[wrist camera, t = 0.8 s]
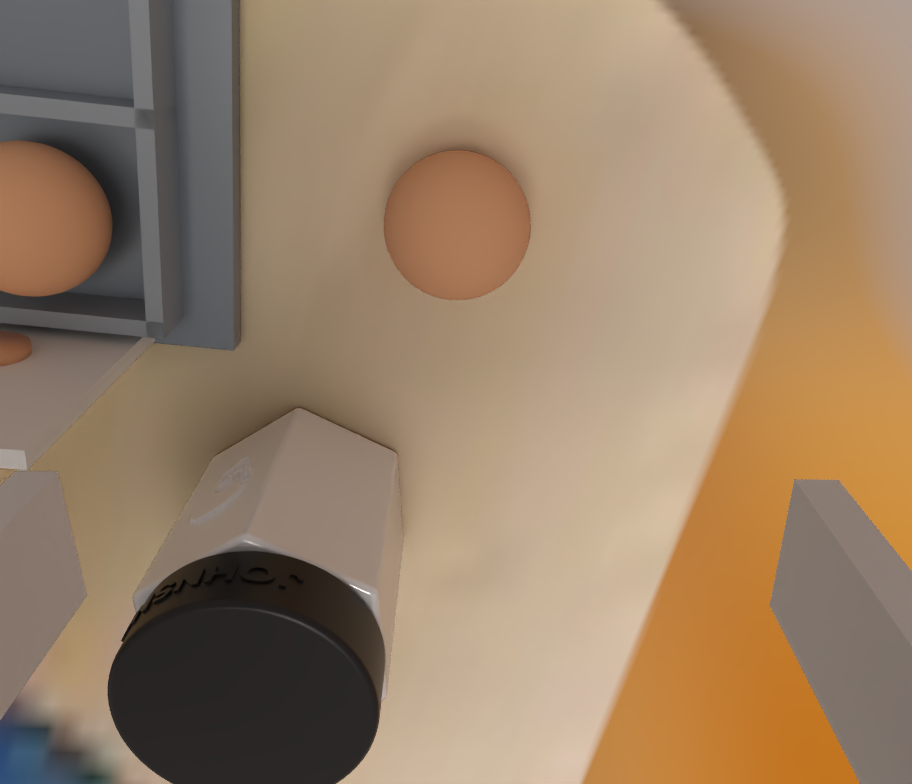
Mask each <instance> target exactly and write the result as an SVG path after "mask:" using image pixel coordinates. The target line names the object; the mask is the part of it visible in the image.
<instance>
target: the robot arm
mask: <svg viewBox="0 0 912 784" xmlns="http://www.w3.org/2000/svg"><path fill="white" fill-rule="evenodd" d="M86 596H87V593H86V589H85V585H84V581H83V576H82V572H81V568H80V564H79V559H78V555H77V551H76V547H75V543H74V538H73V534H72V530H71V526H70V521H69V517H68V513H67V509H66V504H65V500H64V496H63V492H62V488H61V483H60V479H59V475H58V472H52V471H15V472H14V473H13V474H12V475H11V476H10V477H9V478H8V479H7V480H6V481H5V482H4V483H3V484H2V485H1V486H0V720H1V718H2V717H3V716H4V714H5V713H6V711H7V710H8V708H9V707H10V706H11V704H12V703H13V701H14V700H15V698H16V697H17V695H18V694H19V693H20V691H21V690H22V688H23V687H24V685H25V684H26V682H27V681H28V680H29V678H30V677H31V675H32V674H33V672H34V671H35V670H36V668H37V667H38V665H39V664H40V662H41V661H42V659H43V658H44V657H45V655H46V654H47V652H48V651H49V649H50V648H51V647H52V645H53V644H54V642H55V641H56V639H57V638H58V636H59V635H60V634H61V632H62V631H63V629H64V628H65V626H66V625H67V623H68V622H69V621H70V619H71V618H72V616H73V615H74V613H75V612H76V611H77V609H78V608H79V606H80V605H81V603H82V602H83V600H84V599H85V598H86ZM770 607H771V609H772V611H773V613H774V615H775V617H776V619H777V621H778V623H779V625H780V627H781V629H782V630H783V633H784V634H785V636H786V638H787V640H788V642H789V644H790V646H791V648H792V650H793V652H794V654H795V656H796V658H797V660H798V662H799V664H800V666H801V668H802V670H803V672H804V674H805V676H806V678H807V680H808V682H809V684H810V686H811V688H812V690H813V692H814V694H815V696H816V698H817V700H818V702H819V703H820V706H821V708H822V709H823V711H824V713H825V715H826V717H827V719H828V721H829V723H830V725H831V727H832V729H833V731H834V733H835V735H836V737H837V739H838V741H839V743H840V745H841V747H842V749H843V751H844V753H845V755H846V757H847V759H848V761H849V763H850V765H851V767H852V768H853V771H854V773H855V774H856V777H857V779H858V780H859V783H860V784H912V571H911V570H910V569H909V567H908V566H907V565H906V564H905V562H904V561H903V560H902V559H901V558H900V556H899V555H898V554H897V552H896V551H895V550H894V549H893V547H892V546H891V545H890V544H889V542H888V541H887V540H886V539H885V537H884V536H883V535H882V534H881V532H880V531H879V530H878V529H877V528H876V526H875V525H874V524H873V523H872V521H871V520H870V519H869V518H868V516H867V515H866V514H865V512H864V511H863V510H862V509H861V507H860V506H859V505H858V504H857V502H856V501H855V500H854V499H853V497H852V496H851V495H850V494H849V493H848V491H847V490H846V489H845V488H844V486H843V485H842V484H841V482H840V481H839V480H794V484H793V490H792V495H791V500H790V505H789V510H788V515H787V520H786V525H785V530H784V536H783V541H782V546H781V551H780V556H779V561H778V566H777V571H776V577H775V581H774V586H773V592H772V597H771V602H770Z"/></svg>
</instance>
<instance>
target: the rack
mask: <svg viewBox="0 0 912 784" xmlns="http://www.w3.org/2000/svg"><path fill="white" fill-rule="evenodd" d="M15 140H19V141H31V142H37V143H42V144H45V145H48V146H52V147H54V148H56V149H58V150H61V151H63V152H65V153H66V154H68V155H70V156H72V157H73V158H75V159H76V160H77V161H79V162H80V163H81V164H82V165H83V166H85V167H86V168H87V169H88V170H89V171H90V172H91V174H92V175H93V176H94V177H95V178H96V180H97V181H98V183H99V184H100V186H101V187H102V189H103V191H104V193H105V195H106V197H107V200H108V202H109V206H110V209H111V214H112V221H113V230H112V238H111V243H110V246H109V250H108V252H107V254H106V256H105V258H104V260H103V262H102V263H101V265H100V266H99V268H98V269H97V270H96V271H95V272H94V273H93V274H92V275H91V276H90V277H89V278H88V279H86V280H85V281H84V282H83V283H81V284H79V285H78V286H76V287H74V288H72V289H70V290H67V291H65V292H62V293H58V294H54V295H49V296H40V297H34V296H20V295H14V294H10V293H7V292H4V291H1V290H0V468H7V469H18V470H28V469H29V468H30V467H31V466H32V465H33V464H34V463H35V462H36V461H37V460H38V459H39V458H40V457H41V456H42V455H43V454H44V453H45V452H46V451H47V450H48V449H49V448H50V447H51V446H52V445H53V444H54V443H55V442H56V441H57V440H58V439H59V438H60V437H61V436H62V435H63V434H64V433H65V432H66V431H67V430H68V429H69V428H70V426H71V425H72V424H73V423H74V422H75V421H76V420H77V419H78V418H79V417H80V416H81V415H82V414H83V413H84V412H85V411H86V410H87V409H88V408H89V407H90V406H91V405H92V404H93V403H94V402H95V401H96V400H97V399H98V398H99V397H100V396H101V395H102V394H103V393H104V392H105V391H106V390H107V389H108V388H109V387H110V386H111V385H112V384H113V383H114V382H115V381H116V380H117V379H118V378H119V377H120V376H121V375H122V374H123V373H124V372H125V371H126V370H127V369H128V368H129V367H130V366H131V365H132V364H133V363H134V362H135V361H136V360H137V359H138V358H139V356H140V355H141V354H142V353H143V352H144V351H145V350H146V349H147V348H148V347H149V346H150V345H151V344H152V343H161V344H171V345H182V346H192V347H202V348H212V349H222V350H232V351H234V350H235V349H236V347H237V346H238V344H239V343H240V342H241V334H240V87H239V0H0V142H5V141H15Z"/></svg>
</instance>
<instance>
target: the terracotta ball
mask: <svg viewBox="0 0 912 784" xmlns="http://www.w3.org/2000/svg"><path fill="white" fill-rule="evenodd" d="M112 230H113V221H112V214H111V209H110V206H109V202H108V200H107V197H106V195H105V193H104V191H103V189H102V187H101V186H100V184H99V183H98V181H97V180H96V178H95V177H94V176H93V175H92V174H91V172H90V171H89V170H88V169H87V168H86V167H85V166H83V165H82V164H81V163H80V162H79V161H77V160H76V159H75V158H73V157H72V156H70V155H68V154H66V153H65V152H63V151H61V150H58V149H56V148H54V147H52V146H48V145H45V144H42V143H37V142H31V141H19V140H15V141H5V142H0V290H1V291H4V292H7V293H10V294H14V295H20V296H34V297H40V296H49V295H54V294H58V293H62V292H65V291H67V290H70V289H72V288H74V287H76V286H78V285H79V284H81V283H83V282H84V281H85V280H86V279H88V278H89V277H90V276H91V275H92V274H93V273H94V272H95V271H96V270H97V269H98V268H99V266H100V265H101V263H102V262H103V260H104V258H105V256H106V254H107V252H108V250H109V246H110V243H111V238H112Z"/></svg>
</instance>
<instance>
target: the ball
mask: <svg viewBox="0 0 912 784" xmlns="http://www.w3.org/2000/svg"><path fill="white" fill-rule="evenodd" d="M530 228H531V225H530V213H529V208H528V204H527V201H526V198H525V195H524V193H523V191H522V189H521V187H520V186H519V184H518V183H517V181H516V180H515V179H514V177H513V176H512V175H511V174H510V173H509V172H508V171H507V170H506V169H505V168H504V167H503V166H501V165H500V164H499V163H497V162H496V161H494V160H493V159H491V158H488V157H486V156H484V155H481V154H478V153H475V152H470V151H462V150H452V151H444V152H440V153H436V154H433V155H431V156H428V157H426V158H424V159H422V160H420V161H419V162H417V163H416V164H414V165H413V166H412V167H410V168H409V169H408V170H407V171H406V172H405V173H404V174H403V175H402V177H401V178H400V179H399V180H398V182H397V183H396V185H395V187H394V188H393V190H392V192H391V194H390V197H389V199H388V202H387V206H386V209H385V216H384V235H385V241H386V245H387V249H388V251H389V254H390V256H391V259H392V260H393V262H394V264H395V266H396V267H397V269H398V270H399V271H400V273H401V274H402V275H403V276H404V277H405V278H406V279H407V280H408V281H409V282H410V283H411V284H412V285H414V286H415V287H416V288H418V289H420V290H421V291H423V292H425V293H427V294H429V295H432V296H435V297H438V298H442V299H448V300H467V299H472V298H477V297H480V296H482V295H485V294H487V293H489V292H491V291H493V290H495V289H496V288H498V287H499V286H501V285H502V284H503V283H504V282H506V281H507V280H508V279H509V278H510V277H511V275H512V274H513V273H514V272H515V271H516V269H517V268H518V266H519V265H520V263H521V261H522V259H523V257H524V255H525V252H526V250H527V247H528V243H529V238H530Z"/></svg>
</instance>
